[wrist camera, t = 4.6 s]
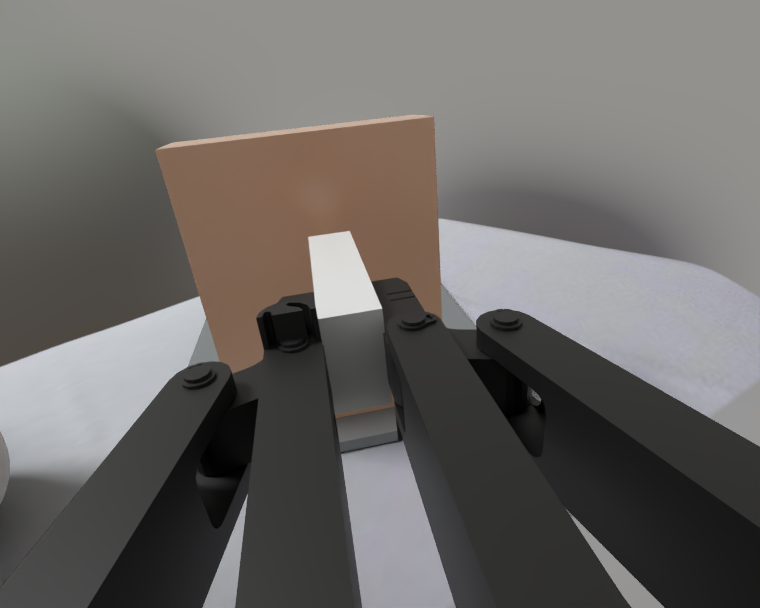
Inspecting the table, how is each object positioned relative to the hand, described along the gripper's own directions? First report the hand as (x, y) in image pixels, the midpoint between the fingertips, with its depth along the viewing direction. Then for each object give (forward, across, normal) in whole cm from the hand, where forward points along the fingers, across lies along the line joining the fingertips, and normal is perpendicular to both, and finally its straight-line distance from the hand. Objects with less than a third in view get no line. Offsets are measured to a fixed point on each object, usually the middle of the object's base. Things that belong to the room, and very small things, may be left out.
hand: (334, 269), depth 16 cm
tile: (+3, 0, -8) cm, 9 cm away
